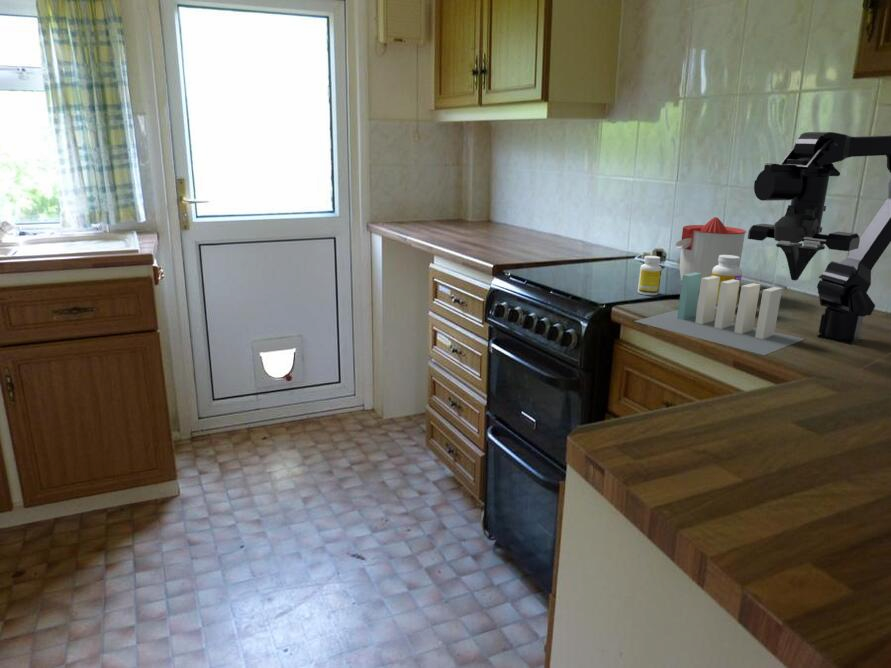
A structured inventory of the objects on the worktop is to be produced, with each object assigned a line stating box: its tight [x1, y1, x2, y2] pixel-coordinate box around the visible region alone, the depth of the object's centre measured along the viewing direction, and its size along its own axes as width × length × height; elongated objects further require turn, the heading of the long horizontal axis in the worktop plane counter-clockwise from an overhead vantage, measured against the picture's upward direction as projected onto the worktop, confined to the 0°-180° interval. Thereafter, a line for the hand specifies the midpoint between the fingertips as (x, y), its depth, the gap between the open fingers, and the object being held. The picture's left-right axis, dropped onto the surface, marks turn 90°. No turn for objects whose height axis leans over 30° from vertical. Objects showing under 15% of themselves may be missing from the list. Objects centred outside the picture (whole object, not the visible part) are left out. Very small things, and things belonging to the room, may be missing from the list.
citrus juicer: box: [675, 216, 747, 292], centre depth 176 cm, size 16×17×20 cm
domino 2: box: [714, 279, 741, 329], centre depth 142 cm, size 2×5×10 cm, turn 130°
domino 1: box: [695, 276, 720, 324], centre depth 145 cm, size 2×5×10 cm, turn 130°
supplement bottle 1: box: [637, 255, 663, 296], centre depth 173 cm, size 5×5×10 cm
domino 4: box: [755, 286, 783, 339], centre depth 136 cm, size 2×5×10 cm, turn 130°
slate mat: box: [633, 309, 805, 356], centre depth 141 cm, size 29×18×1 cm, turn 40°
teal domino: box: [677, 273, 701, 320], centre depth 149 cm, size 2×5×10 cm, turn 129°
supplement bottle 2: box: [712, 255, 743, 311], centre depth 158 cm, size 7×7×13 cm
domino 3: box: [734, 282, 761, 334], centre depth 139 cm, size 2×5×10 cm, turn 130°
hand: (794, 280), depth 131 cm, fingers closed
